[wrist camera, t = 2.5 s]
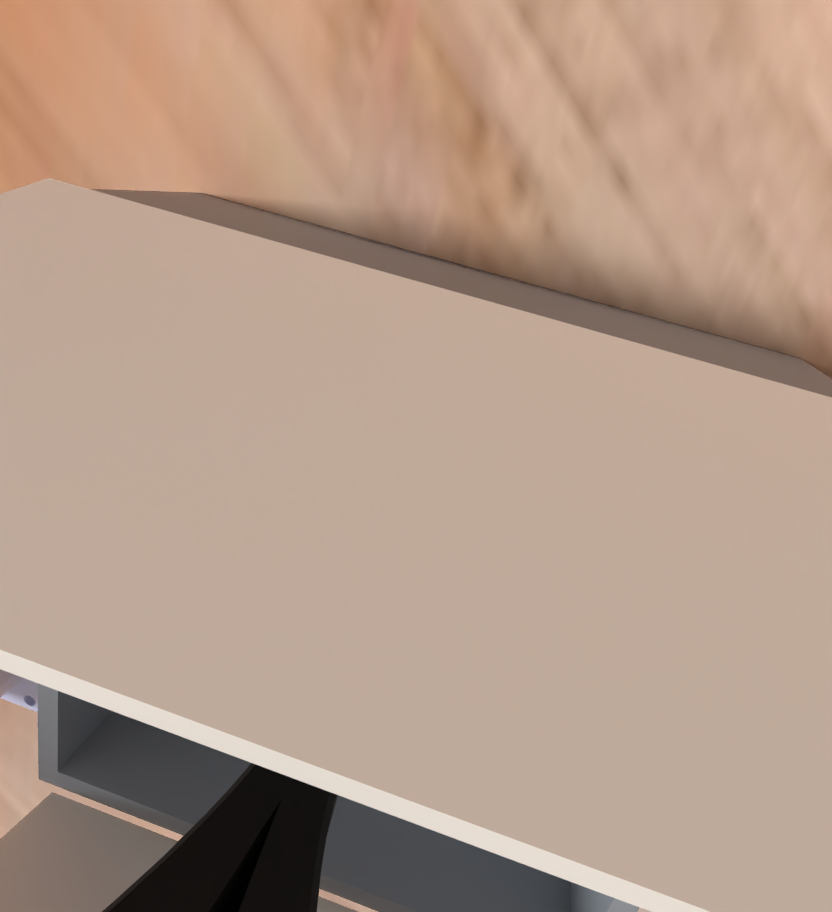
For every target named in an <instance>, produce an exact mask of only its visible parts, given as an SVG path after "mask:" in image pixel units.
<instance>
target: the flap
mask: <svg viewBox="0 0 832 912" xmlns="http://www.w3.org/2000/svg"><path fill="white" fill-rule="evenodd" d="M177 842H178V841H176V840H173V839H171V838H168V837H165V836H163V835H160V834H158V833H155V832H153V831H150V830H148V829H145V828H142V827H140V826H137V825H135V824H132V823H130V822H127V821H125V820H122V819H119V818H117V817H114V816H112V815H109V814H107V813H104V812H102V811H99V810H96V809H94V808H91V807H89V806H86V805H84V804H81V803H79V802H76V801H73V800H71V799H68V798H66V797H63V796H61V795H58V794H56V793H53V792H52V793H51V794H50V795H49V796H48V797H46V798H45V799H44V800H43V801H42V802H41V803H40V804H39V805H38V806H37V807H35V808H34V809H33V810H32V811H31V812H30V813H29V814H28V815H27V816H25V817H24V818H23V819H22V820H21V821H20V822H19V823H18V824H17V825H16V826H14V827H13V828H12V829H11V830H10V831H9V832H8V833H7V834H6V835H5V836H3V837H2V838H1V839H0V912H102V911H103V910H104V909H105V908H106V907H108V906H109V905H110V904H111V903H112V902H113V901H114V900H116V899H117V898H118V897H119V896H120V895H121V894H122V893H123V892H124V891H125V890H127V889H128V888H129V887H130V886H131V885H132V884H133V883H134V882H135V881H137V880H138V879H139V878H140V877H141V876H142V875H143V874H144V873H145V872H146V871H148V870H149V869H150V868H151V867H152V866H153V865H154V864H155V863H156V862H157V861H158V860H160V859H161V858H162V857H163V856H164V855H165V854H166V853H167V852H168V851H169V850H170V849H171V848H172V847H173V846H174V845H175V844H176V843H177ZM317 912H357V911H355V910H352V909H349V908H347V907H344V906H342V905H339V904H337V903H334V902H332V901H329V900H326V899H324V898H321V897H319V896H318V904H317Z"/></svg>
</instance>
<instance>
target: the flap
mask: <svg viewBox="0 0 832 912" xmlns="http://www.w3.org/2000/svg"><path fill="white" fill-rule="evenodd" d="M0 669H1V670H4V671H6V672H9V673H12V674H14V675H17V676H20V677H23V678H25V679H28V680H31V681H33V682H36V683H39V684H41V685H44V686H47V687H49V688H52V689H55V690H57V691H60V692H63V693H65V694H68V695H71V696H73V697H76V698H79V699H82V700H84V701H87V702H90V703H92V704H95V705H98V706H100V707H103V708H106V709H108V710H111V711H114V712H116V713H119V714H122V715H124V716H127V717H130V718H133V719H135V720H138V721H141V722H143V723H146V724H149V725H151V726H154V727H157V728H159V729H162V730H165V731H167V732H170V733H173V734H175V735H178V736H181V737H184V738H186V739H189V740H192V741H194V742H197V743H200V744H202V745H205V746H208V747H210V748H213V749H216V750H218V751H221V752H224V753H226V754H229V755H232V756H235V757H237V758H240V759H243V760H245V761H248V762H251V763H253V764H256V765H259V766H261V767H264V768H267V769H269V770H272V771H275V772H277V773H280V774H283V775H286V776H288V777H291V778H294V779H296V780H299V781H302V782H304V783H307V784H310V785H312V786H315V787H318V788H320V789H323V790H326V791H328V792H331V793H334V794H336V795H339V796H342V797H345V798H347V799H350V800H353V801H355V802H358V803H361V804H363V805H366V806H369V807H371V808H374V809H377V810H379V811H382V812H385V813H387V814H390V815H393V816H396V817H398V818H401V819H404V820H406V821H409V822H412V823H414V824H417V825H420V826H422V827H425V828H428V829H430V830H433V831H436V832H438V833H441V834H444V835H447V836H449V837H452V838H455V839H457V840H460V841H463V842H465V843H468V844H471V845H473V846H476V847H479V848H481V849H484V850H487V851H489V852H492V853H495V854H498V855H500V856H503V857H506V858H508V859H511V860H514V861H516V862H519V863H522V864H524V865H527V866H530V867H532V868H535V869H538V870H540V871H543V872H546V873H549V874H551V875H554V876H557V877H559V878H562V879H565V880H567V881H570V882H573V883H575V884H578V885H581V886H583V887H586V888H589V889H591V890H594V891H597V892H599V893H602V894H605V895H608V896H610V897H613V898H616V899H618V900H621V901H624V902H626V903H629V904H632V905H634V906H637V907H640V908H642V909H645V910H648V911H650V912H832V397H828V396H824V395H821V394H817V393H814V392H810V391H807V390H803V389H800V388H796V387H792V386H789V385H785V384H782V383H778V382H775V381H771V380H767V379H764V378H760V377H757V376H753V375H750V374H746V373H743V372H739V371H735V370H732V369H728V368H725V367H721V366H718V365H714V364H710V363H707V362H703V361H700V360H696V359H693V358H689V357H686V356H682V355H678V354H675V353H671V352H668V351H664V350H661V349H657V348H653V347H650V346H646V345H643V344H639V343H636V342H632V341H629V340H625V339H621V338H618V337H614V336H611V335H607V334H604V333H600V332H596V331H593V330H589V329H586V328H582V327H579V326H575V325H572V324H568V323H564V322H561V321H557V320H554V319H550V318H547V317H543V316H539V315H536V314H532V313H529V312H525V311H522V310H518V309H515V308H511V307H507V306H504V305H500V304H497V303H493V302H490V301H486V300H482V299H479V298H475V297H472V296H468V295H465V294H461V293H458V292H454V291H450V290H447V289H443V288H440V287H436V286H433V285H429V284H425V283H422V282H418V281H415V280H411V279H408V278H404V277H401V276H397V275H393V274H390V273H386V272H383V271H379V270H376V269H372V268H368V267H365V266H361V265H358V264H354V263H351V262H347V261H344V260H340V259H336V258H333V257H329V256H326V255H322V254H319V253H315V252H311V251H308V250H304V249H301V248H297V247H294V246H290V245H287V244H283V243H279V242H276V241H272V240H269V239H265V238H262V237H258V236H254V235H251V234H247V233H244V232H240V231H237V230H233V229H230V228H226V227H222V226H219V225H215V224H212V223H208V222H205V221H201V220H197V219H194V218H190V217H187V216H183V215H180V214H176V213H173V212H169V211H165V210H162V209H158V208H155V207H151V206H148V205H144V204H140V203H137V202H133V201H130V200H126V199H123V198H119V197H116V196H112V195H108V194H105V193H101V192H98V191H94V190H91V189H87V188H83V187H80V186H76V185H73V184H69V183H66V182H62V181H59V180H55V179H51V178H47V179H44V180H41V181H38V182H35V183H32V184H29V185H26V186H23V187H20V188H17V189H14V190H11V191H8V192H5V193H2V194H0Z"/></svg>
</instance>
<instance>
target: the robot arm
mask: <svg viewBox="0 0 832 912" xmlns="http://www.w3.org/2000/svg"><path fill="white" fill-rule="evenodd" d="M0 698H2V699H5V700H7V701H10V702H13V703H15V704H18V705H20V706H23V707H26V708H28V709H31V710H34V711H36V712H38V685H37V683H36V682H33V681H31V680H28V679H25V678H23V677H20V676H17V675H14V674H12V673H9V672H6V671H4V670H1V669H0ZM337 797H338V795H336V794H334V793H331V792H328V791H326V790H323V789H320V788H318V787H315V786H312V785H310V784H307V783H304V782H302V781H299V780H296V779H294V778H291V777H288V776H286V775H283V774H280V773H277V772H275V771H272V770H269V769H267V768H264V767H261V766H259V765H256V764H253V763H251V764H250V765H249V766H248V767H247V769H246V770H245V771H244V772H243V773H242V775H241V776H240V777H239V778H238V779H237V780H236V782H235V783H234V784H233V785H232V786H231V787H230V788H229V789H228V790H227V792H226V793H225V794H224V795H223V796H222V797H221V798H220V799H219V800H218V801H217V802H216V803H215V804H214V806H213V807H212V808H211V809H210V810H209V811H208V812H207V813H206V814H205V815H204V816H203V817H202V818H201V819H200V820H199V821H198V822H197V823H196V824H195V825H194V826H193V827H192V828H191V829H190V830H189V831H188V832H187V833H186V834H185V835H184V836H183V837H182V838H181V839H180V840H179V841H178V842H177V843H176V844H175V845H174V846H173V847H172V848H171V849H170V850H169V851H168V852H167V853H166V854H165V855H164V856H163V857H162V858H161V859H160V860H158V861H157V862H156V863H155V864H154V865H153V866H152V867H151V868H150V869H149V870H148V871H146V872H145V873H144V874H143V875H142V876H141V877H140V878H139V879H138V880H137V881H135V882H134V883H133V884H132V885H131V886H130V887H129V888H128V889H127V890H125V891H124V892H123V893H122V894H121V895H120V896H119V897H118V898H117V899H116V900H114V901H113V902H112V903H111V904H110V905H109V906H108V907H106V908H105V909H104V910H103V911H102V912H317V904H318V895H319V885H320V876H321V869H322V862H323V855H324V849H325V844H326V838H327V834H328V830H329V826H330V823H331V819H332V815H333V812H334V808H335V804H336V801H337Z"/></svg>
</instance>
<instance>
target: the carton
mask: <svg viewBox="0 0 832 912" xmlns="http://www.w3.org/2000/svg"><path fill="white" fill-rule="evenodd" d="M91 190H94V191H98V192H101V193H105V194H108V195H112V196H116V197H119V198H123V199H126V200H130V201H133V202H137V203H140V204H144V205H148V206H151V207H155V208H158V209H162V210H165V211H169V212H173V213H176V214H180V215H183V216H187V217H190V218H194V219H197V220H201V221H205V222H208V223H212V224H215V225H219V226H222V227H226V228H230V229H233V230H237V231H240V232H244V233H247V234H251V235H254V236H258V237H262V238H265V239H269V240H272V241H276V242H279V243H283V244H287V245H290V246H294V247H297V248H301V249H304V250H308V251H311V252H315V253H319V254H322V255H326V256H329V257H333V258H336V259H340V260H344V261H347V262H351V263H354V264H358V265H361V266H365V267H368V268H372V269H376V270H379V271H383V272H386V273H390V274H393V275H397V276H401V277H404V278H408V279H411V280H415V281H418V282H422V283H425V284H429V285H433V286H436V287H440V288H443V289H447V290H450V291H454V292H458V293H461V294H465V295H468V296H472V297H475V298H479V299H482V300H486V301H490V302H493V303H497V304H500V305H504V306H507V307H511V308H515V309H518V310H522V311H525V312H529V313H532V314H536V315H539V316H543V317H547V318H550V319H554V320H557V321H561V322H564V323H568V324H572V325H575V326H579V327H582V328H586V329H589V330H593V331H596V332H600V333H604V334H607V335H611V336H614V337H618V338H621V339H625V340H629V341H632V342H636V343H639V344H643V345H646V346H650V347H653V348H657V349H661V350H664V351H668V352H671V353H675V354H678V355H682V356H686V357H689V358H693V359H696V360H700V361H703V362H707V363H710V364H714V365H718V366H721V367H725V368H728V369H732V370H735V371H739V372H743V373H746V374H750V375H753V376H757V377H760V378H764V379H767V380H771V381H775V382H778V383H782V384H785V385H789V386H792V387H796V388H800V389H803V390H807V391H810V392H814V393H817V394H821V395H824V396H828V397H832V378H830V377H829V376H827V375H825V374H824V373H822V372H821V371H819V370H818V369H816V368H815V367H813V366H811V365H810V364H808V363H807V362H805V361H804V360H802V359H800V358H797V357H793V356H790V355H786V354H782V353H779V352H775V351H772V350H768V349H764V348H761V347H757V346H753V345H750V344H746V343H743V342H739V341H735V340H732V339H728V338H724V337H721V336H717V335H714V334H710V333H706V332H703V331H699V330H695V329H692V328H688V327H685V326H681V325H677V324H674V323H670V322H666V321H663V320H659V319H656V318H652V317H648V316H645V315H641V314H637V313H634V312H630V311H627V310H623V309H619V308H616V307H612V306H608V305H605V304H601V303H598V302H594V301H590V300H587V299H583V298H579V297H576V296H572V295H569V294H565V293H561V292H558V291H554V290H550V289H547V288H543V287H540V286H536V285H532V284H529V283H525V282H521V281H518V280H514V279H511V278H507V277H503V276H500V275H496V274H492V273H489V272H485V271H482V270H478V269H474V268H471V267H467V266H463V265H460V264H456V263H453V262H449V261H445V260H442V259H438V258H434V257H431V256H427V255H424V254H420V253H416V252H413V251H409V250H405V249H402V248H398V247H395V246H391V245H387V244H384V243H380V242H376V241H373V240H369V239H366V238H362V237H358V236H355V235H351V234H347V233H344V232H340V231H337V230H333V229H329V228H326V227H322V226H318V225H315V224H311V223H308V222H304V221H300V220H297V219H293V218H289V217H286V216H282V215H279V214H275V213H271V212H268V211H264V210H260V209H257V208H253V207H250V206H246V205H242V204H239V203H235V202H231V201H228V200H224V199H221V198H217V197H213V196H210V195H206V194H202V193H188V192H159V191H130V190H101V189H91ZM37 685H38V764H39V779H40V780H43V781H45V782H48V783H50V784H53V785H55V786H58V787H61V788H63V789H66V790H68V791H71V792H73V793H76V794H78V795H81V796H84V797H86V798H89V799H91V800H94V801H96V802H99V803H102V804H104V805H107V806H109V807H112V808H114V809H117V810H120V811H122V812H125V813H127V814H130V815H132V816H135V817H137V818H140V819H143V820H145V821H148V822H150V823H153V824H155V825H158V826H161V827H163V828H166V829H168V830H171V831H173V832H176V833H179V834H181V835H185V834H186V833H187V832H188V831H189V830H190V829H191V828H192V827H193V826H194V825H195V824H196V823H197V822H198V821H199V820H200V819H201V818H202V817H203V816H204V815H205V814H206V813H207V812H208V811H209V810H210V809H211V808H212V807H213V806H214V804H215V803H216V802H217V801H218V800H219V799H220V798H221V797H222V796H223V795H224V794H225V793H226V792H227V790H228V789H229V788H230V787H231V786H232V785H233V784H234V783H235V782H236V780H237V779H238V778H239V777H240V776H241V775H242V773H243V772H244V771H245V770H246V769H247V767H248V766H249V765H250V764H251V762H248V761H245V760H243V759H240V758H237V757H235V756H232V755H229V754H226V753H224V752H221V751H218V750H216V749H213V748H210V747H208V746H205V745H202V744H200V743H197V742H194V741H192V740H189V739H186V738H184V737H181V736H178V735H175V734H173V733H170V732H167V731H165V730H162V729H159V728H157V727H154V726H151V725H149V724H146V723H143V722H141V721H138V720H135V719H133V718H130V717H127V716H124V715H122V714H119V713H116V712H114V711H111V710H108V709H106V708H103V707H100V706H98V705H95V704H92V703H90V702H87V701H84V700H82V699H79V698H76V697H73V696H71V695H68V694H65V693H63V692H60V691H57V690H55V689H52V688H49V687H47V686H44V685H41V684H39V683H37ZM319 888H320V889H322V890H325V891H327V892H330V893H332V894H335V895H338V896H340V897H343V898H345V899H348V900H350V901H353V902H355V903H358V904H361V905H363V906H366V907H368V908H371V909H373V910H376V911H379V912H637V911H638V909H639V907H637V906H634V905H632V904H629V903H626V902H624V901H621V900H618V899H616V898H613V897H610V896H608V895H605V894H602V893H599V892H597V891H594V890H591V889H589V888H586V887H583V886H581V885H578V884H575V883H573V882H570V881H567V880H565V879H562V878H559V877H557V876H554V875H551V874H549V873H546V872H543V871H540V870H538V869H535V868H532V867H530V866H527V865H524V864H522V863H519V862H516V861H514V860H511V859H508V858H506V857H503V856H500V855H498V854H495V853H492V852H489V851H487V850H484V849H481V848H479V847H476V846H473V845H471V844H468V843H465V842H463V841H460V840H457V839H455V838H452V837H449V836H447V835H444V834H441V833H438V832H436V831H433V830H430V829H428V828H425V827H422V826H420V825H417V824H414V823H412V822H409V821H406V820H404V819H401V818H398V817H396V816H393V815H390V814H387V813H385V812H382V811H379V810H377V809H374V808H371V807H369V806H366V805H363V804H361V803H358V802H355V801H353V800H350V799H347V798H345V797H342V796H339V795H338V797H337V801H336V804H335V808H334V812H333V815H332V819H331V823H330V826H329V830H328V834H327V838H326V844H325V849H324V855H323V862H322V869H321V876H320V885H319Z"/></svg>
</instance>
